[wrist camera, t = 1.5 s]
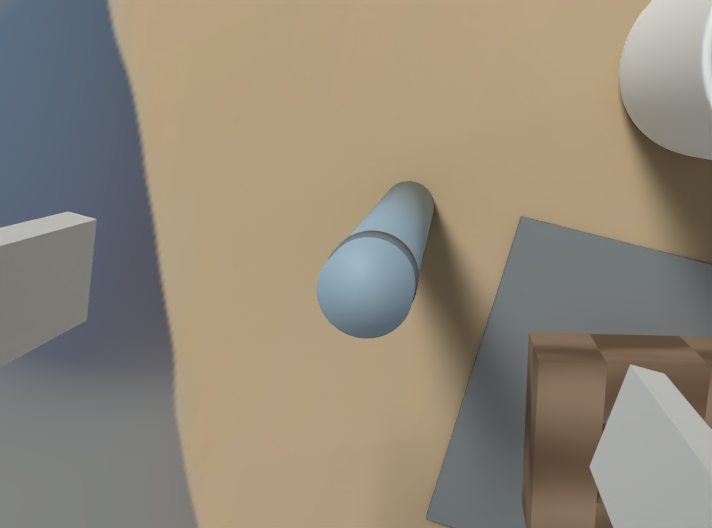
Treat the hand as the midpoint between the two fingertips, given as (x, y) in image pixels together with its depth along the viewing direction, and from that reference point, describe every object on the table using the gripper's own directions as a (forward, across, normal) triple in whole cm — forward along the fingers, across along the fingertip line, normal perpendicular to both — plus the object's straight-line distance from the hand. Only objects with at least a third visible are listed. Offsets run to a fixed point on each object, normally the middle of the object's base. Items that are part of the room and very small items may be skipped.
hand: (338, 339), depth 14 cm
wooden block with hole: (+19, +15, -8) cm, 25 cm away
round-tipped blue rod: (+19, 0, 0) cm, 19 cm away
